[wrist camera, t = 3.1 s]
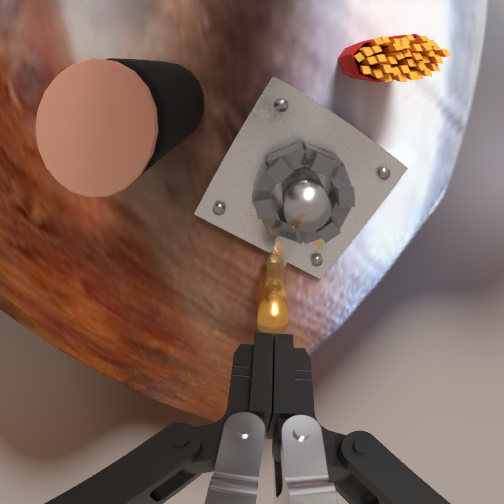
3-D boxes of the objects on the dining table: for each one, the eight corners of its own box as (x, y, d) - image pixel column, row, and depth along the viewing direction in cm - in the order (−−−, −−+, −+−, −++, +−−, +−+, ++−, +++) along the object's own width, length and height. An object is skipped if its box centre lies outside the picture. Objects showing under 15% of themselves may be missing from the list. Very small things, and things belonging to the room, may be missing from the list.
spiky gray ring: (275, 130, 33) (279, 160, 22) (361, 166, 35) (402, 212, 24) (229, 251, 42) (215, 319, 31) (304, 275, 44) (314, 346, 33)
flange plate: (196, 209, 41) (181, 239, 34) (272, 76, 32) (274, 75, 25) (318, 273, 46) (326, 309, 39) (403, 164, 36) (430, 186, 29)
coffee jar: (110, 110, 34) (18, 145, 19) (161, 45, 30) (81, 31, 14) (167, 160, 38) (104, 224, 22) (224, 99, 33) (187, 119, 18)
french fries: (392, 39, 28) (446, 29, 17) (402, 71, 30) (459, 75, 19) (323, 52, 30) (352, 40, 19) (335, 84, 32) (368, 89, 21)
